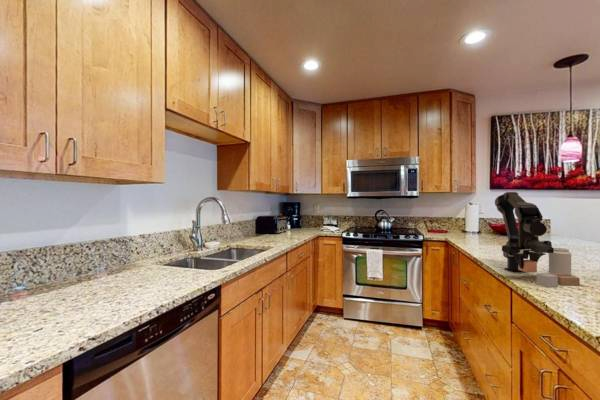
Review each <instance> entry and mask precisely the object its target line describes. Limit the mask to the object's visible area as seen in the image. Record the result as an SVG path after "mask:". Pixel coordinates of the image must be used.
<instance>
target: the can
mask: <svg viewBox="0 0 600 400" xmlns="http://www.w3.org/2000/svg"><path fill="white" fill-rule="evenodd" d="M553 249H554V253H548V273H565V274H569V275H572V252H570V249H568V248H562V247H553Z"/></svg>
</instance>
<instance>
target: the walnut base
mask: <svg viewBox="0 0 600 400" xmlns="http://www.w3.org/2000/svg"><path fill="white" fill-rule="evenodd" d="M547 273H548V274H552V275H556V276H558V286H561V287H565V286H566V287H567V286H568V287H570V286H571V287H580V283H581V282H580V281H581V280H580V277H577V276H575V275H572V274H571V275H569V274H565V273H550V272H547Z"/></svg>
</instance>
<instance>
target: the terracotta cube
mask: <svg viewBox="0 0 600 400" xmlns="http://www.w3.org/2000/svg"><path fill="white" fill-rule="evenodd" d="M537 264H538V262H535V261H531V260H530V259H524V267H523V269H521V268H520V266H519V264H518V270H521V271H524V272H523V273H538V265H537Z"/></svg>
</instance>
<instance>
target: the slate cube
mask: <svg viewBox="0 0 600 400" xmlns="http://www.w3.org/2000/svg"><path fill="white" fill-rule="evenodd" d="M548 273H549V272H541V273H538V272H536V285H539V286H541V287H544V288H548V289H549V288H550V289H551V288H558V287H559V285H558V276H556V275H552V274H548Z"/></svg>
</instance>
